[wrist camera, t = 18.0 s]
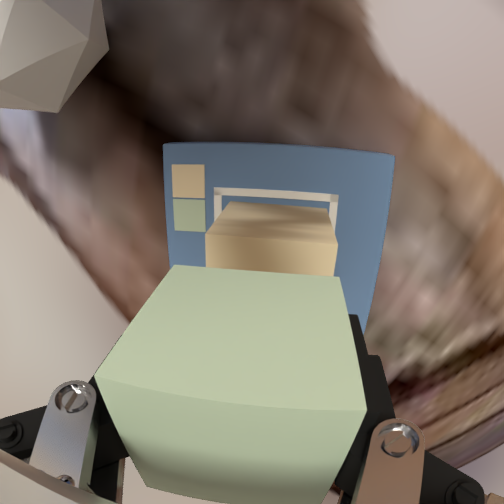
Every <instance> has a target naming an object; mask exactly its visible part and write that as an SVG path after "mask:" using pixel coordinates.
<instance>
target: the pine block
mask: <svg viewBox="0 0 504 504" xmlns="http://www.w3.org/2000/svg"><path fill="white" fill-rule="evenodd" d="M337 249H338V243H337V239H336V236H335V233H334V230H333V227H332V224H331V220H330V217H329V214H328V211H327V209H326V208H315V207H304V206H292V205H279V204H265V203H251V202H235V201H230V202H229V203H228V205H227V206H226V207H225V209H224V210H223V211H222V212H221V214H220V215H219V216H218V218H217V219H216V220H215V222H214V223H213V224H212V226H211V227H210V228H209V230H208V231H207V232H206V234H205V250H206V267H210V268H222V269H235V270H248V271H262V272H275V273H289V274H304V275H319V276H333V275H334V269H335V263H336V256H337Z"/></svg>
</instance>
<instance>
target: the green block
mask: <svg viewBox="0 0 504 504" xmlns="http://www.w3.org/2000/svg"><path fill="white" fill-rule="evenodd" d="M94 377H95V380H96V382H97V385H98V387H99V390H100V392H101V395H102V397H103V400H104V402H105V404H106V407H107V409H108V411H109V414H110V416H111V418H112V420H113V423H114V425H115V427H116V429H117V431H118V433H119V435H120V437H121V439H122V442H123V444H124V446H125V448H126V450H127V452H128V453H129V455H130V457H131V459H132V461H133V463H134V465H135V467H136V468H137V470H138V472H139V474H140V476H141V478H142V479H143V481H144V483H145V485H146V486H147V487H150V488H154V489H158V490H162V491H165V492H170V493H174V494H178V495H183V496H187V497H192V498H197V499H202V500H208V501H214V502H220V503H227V504H321V503H322V501H323V500H324V498H325V496H326V494H327V492H328V491H329V489H330V487H331V485H332V483H333V481H334V479H335V478H336V476H337V474H338V472H339V470H340V468H341V466H342V464H343V462H344V460H345V458H346V456H347V454H348V452H349V450H350V447H351V445H352V443H353V441H354V439H355V437H356V434H357V432H358V430H359V428H360V425H361V423H362V421H363V419H364V416H365V414H366V411H367V407H366V401H365V395H364V390H363V384H362V379H361V373H360V368H359V363H358V358H357V353H356V348H355V343H354V338H353V334H352V329H351V325H350V320H349V316H348V311H347V307H346V302H345V298H344V294H343V290H342V286H341V282H340V278H339V277H334V276H319V275H304V274H289V273H275V272H262V271H248V270H235V269H222V268H210V267H197V266H185V265H173V267H172V268H171V269H170V271H169V272H168V273H167V275H166V276H165V277H164V279H163V280H162V281H161V283H160V284H159V285H158V287H157V288H156V289H155V291H154V292H153V293H152V295H151V296H150V297H149V299H148V300H147V301H146V303H145V304H144V305H143V307H142V308H141V310H140V311H139V312H138V314H137V315H136V316H135V318H134V319H133V320H132V322H131V323H130V325H129V326H128V327H127V329H126V330H125V332H124V333H123V334H122V336H121V337H120V339H119V340H118V341H117V343H116V344H115V346H114V347H113V349H112V350H111V351H110V353H109V354H108V356H107V357H106V359H105V360H104V361H103V363H102V364H101V366H100V367H99V369H98V370H97V372H96V373H95V375H94Z"/></svg>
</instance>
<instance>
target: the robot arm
mask: <svg viewBox="0 0 504 504" xmlns="http://www.w3.org/2000/svg"><path fill="white" fill-rule="evenodd" d="M348 316H349V320H350V325H351V329H352V334H353V338H354V343H355V348H356V353H357V358H358V363H359V368H360V373H361V379H362V384H363V390H364V395H365V401H366V407H367V411H366V414H365V416H364V419H363V421H362V423H361V425H360V428H359V430H358V432H357V434H356V437H355V439H354V441H353V443H352V445H351V447H350V450H349V452H348V454H347V456H346V458H345V460H344V462H343V464H342V466H341V468H340V470H339V472H338V474H337V476H336V478H335V479H334V480H335V485H336V486H338V487H339V488H340V489H342V491H341V494H340V497H339V500H338V503H337V504H504V497H501V496H499V495H496V494H494V493H490V494H489V495H486V494H484V491H483V488H482V487H481V485H480V484H479V483H478V482H477V481H476V480H474V479H473V478H471V477H469V476H467V475H466V474H464V473H462V472H461V471H459V470H457V469H456V468H454V467H452V466H450V465H449V464H447V463H445V462H444V461H442V460H440V459H439V458H437V457H436V456H434V455H432V454H431V453H429V452H427V451H426V450H425V440H424V435H423V433H422V431H421V430H420V429H419V428H418V427H417V426H416V425H415V424H413V423H412V422H410V421H407V420H404V419H396V417H395V413H394V409H393V405H392V401H391V397H390V393H389V389H388V385H387V381H386V377H385V373H384V370H383V366H382V362H381V359H380V357H379V356H378V355H368V353H367V349H366V344H365V340H364V336H363V333H362V329H361V325H360V321H359V317H358V315H357V314H348ZM121 336H122V335H121ZM121 336H120V337H121ZM119 339H120V338H119ZM119 339H118V340H119ZM116 343H117V342H116ZM116 343H115V344H116ZM114 346H115V345H114ZM112 349H113V348H112ZM112 349H111V350H112ZM109 353H110V352H109ZM109 353H108V354H109ZM107 356H108V355H107ZM107 356H106V357H107ZM105 359H106V358H105ZM105 359H104V360H105ZM102 363H103V362H102ZM102 363H101V364H102ZM100 366H101V365H100ZM98 369H99V368H98ZM98 369H97V370H98ZM96 372H97V371H96ZM96 372H95V373H96ZM94 375H95V374H94ZM94 375H93V377H92V378H91V380H90V381H89V382H88V383H86V382H84V381H79V380H76V381H69V382H65V383H63V384H61V385H60V386H58V387H57V388H56V389H55V390H54V391H53V393H52V395H51V397H50V400H49V403H48V405H46V406H43V407H40V408H37V409H33V410H30V411H26V412H23V413H19V414H16V415H12V416H8V417H5V418H3V419H0V504H122V495H123V480H124V468H125V458H126V457H129V456H130V455H129V453H128V452H127V450H126V448H125V446H124V444H123V442H122V439H121V437H120V435H119V433H118V431H117V429H116V427H115V425H114V423H113V420H112V418H111V416H110V414H109V411H108V409H107V407H106V404H105V402H104V400H103V397H102V395H101V392H100V390H99V387H98V385H97V382H96V380H95V377H94Z"/></svg>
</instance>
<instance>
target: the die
mask: <svg viewBox="0 0 504 504" xmlns="http://www.w3.org/2000/svg"><path fill="white" fill-rule="evenodd" d="M108 51H109V45H108V40H107V34H106V28H105V22H104V15H103V9H102V2H101V0H0V108H8V109H22V110H33V111H44V112H53V113H58V112H59V111H60V109H61V108H62V106H63V105H64V104H65V102H66V101H67V100H68V98H69V97H70V96H71V95H72V93H73V92H74V91H75V89H76V88H77V87H78V86H79V84H80V83H81V82H82V81H83V79H84V78H85V77H86V76H87V75H88V73H89V72H90V71H91V70H92V69H93V67H94V66H95V65H96V64H97V63H98V62H99V61H100V59H101V58H102V57H103V56H104V55H105V54H106V53H107V52H108Z"/></svg>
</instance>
